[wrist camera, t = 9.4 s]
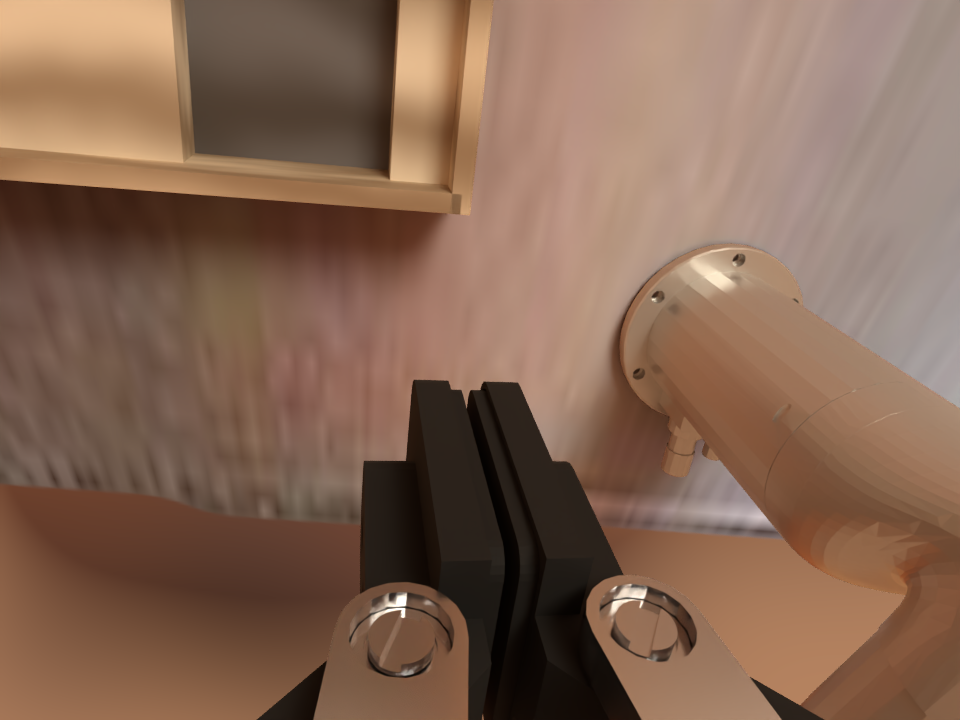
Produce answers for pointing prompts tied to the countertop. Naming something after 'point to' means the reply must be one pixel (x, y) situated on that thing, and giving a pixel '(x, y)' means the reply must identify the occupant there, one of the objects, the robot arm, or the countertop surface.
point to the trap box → (248, 98)
